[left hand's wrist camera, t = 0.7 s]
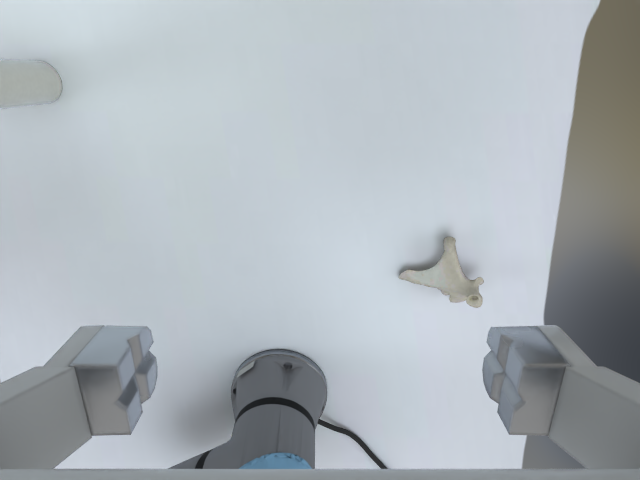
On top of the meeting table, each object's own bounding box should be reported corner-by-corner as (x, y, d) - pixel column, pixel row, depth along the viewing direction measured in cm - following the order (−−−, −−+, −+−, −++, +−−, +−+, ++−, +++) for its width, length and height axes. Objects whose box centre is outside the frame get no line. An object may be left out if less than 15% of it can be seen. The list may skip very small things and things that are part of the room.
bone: (447, 237, 55) (476, 312, 54) (469, 228, 60) (497, 297, 59) (386, 258, 62) (411, 324, 62) (411, 249, 67) (434, 310, 66)
